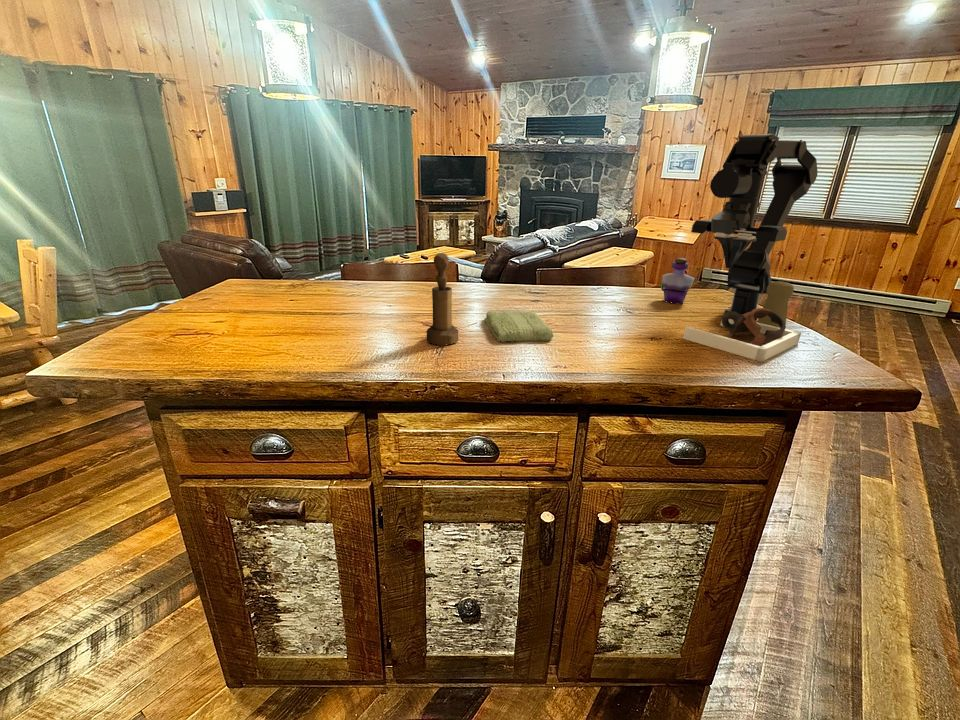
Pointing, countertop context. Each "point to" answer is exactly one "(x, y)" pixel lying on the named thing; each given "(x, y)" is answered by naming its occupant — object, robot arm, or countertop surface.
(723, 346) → the cream bay
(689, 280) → the potion bottle
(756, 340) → the brown looped piece
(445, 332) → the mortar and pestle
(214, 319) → the countertop surface
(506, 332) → the washcloth
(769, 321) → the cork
